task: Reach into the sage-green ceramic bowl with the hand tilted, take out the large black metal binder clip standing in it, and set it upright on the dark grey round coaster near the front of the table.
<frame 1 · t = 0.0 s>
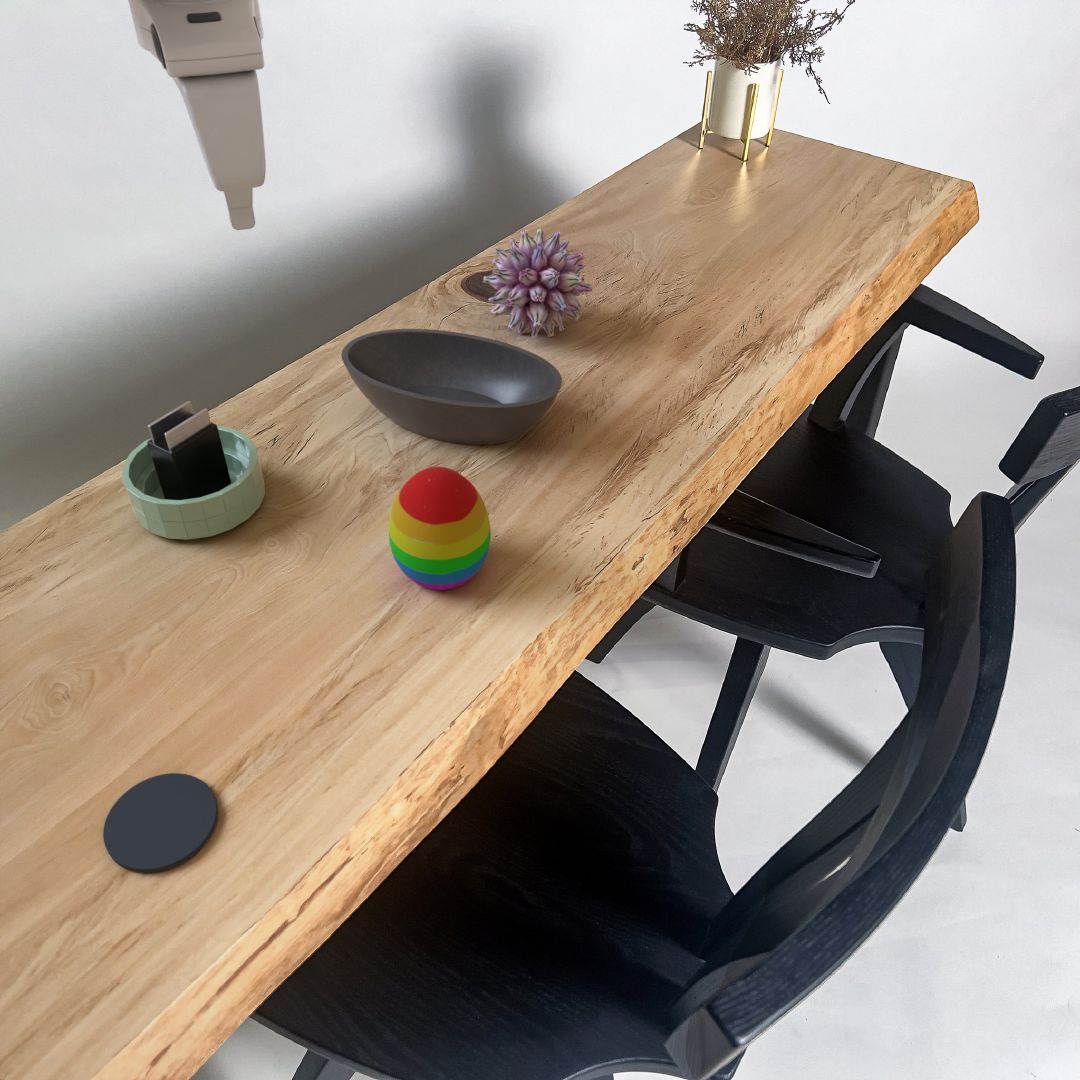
hand: (234, 202, 79), 23 cm above the table, tool pointing down, fingers open, 8 cm apart
green bowl: (201, 502, 86), on the table
coaster: (162, 823, 63), on the table
bowl: (453, 421, 97), on the table
decorative egg: (442, 569, 81), on the table
clip: (200, 497, 86), point 1 cm above the table, touching green bowl
flower: (536, 331, 110), on the table
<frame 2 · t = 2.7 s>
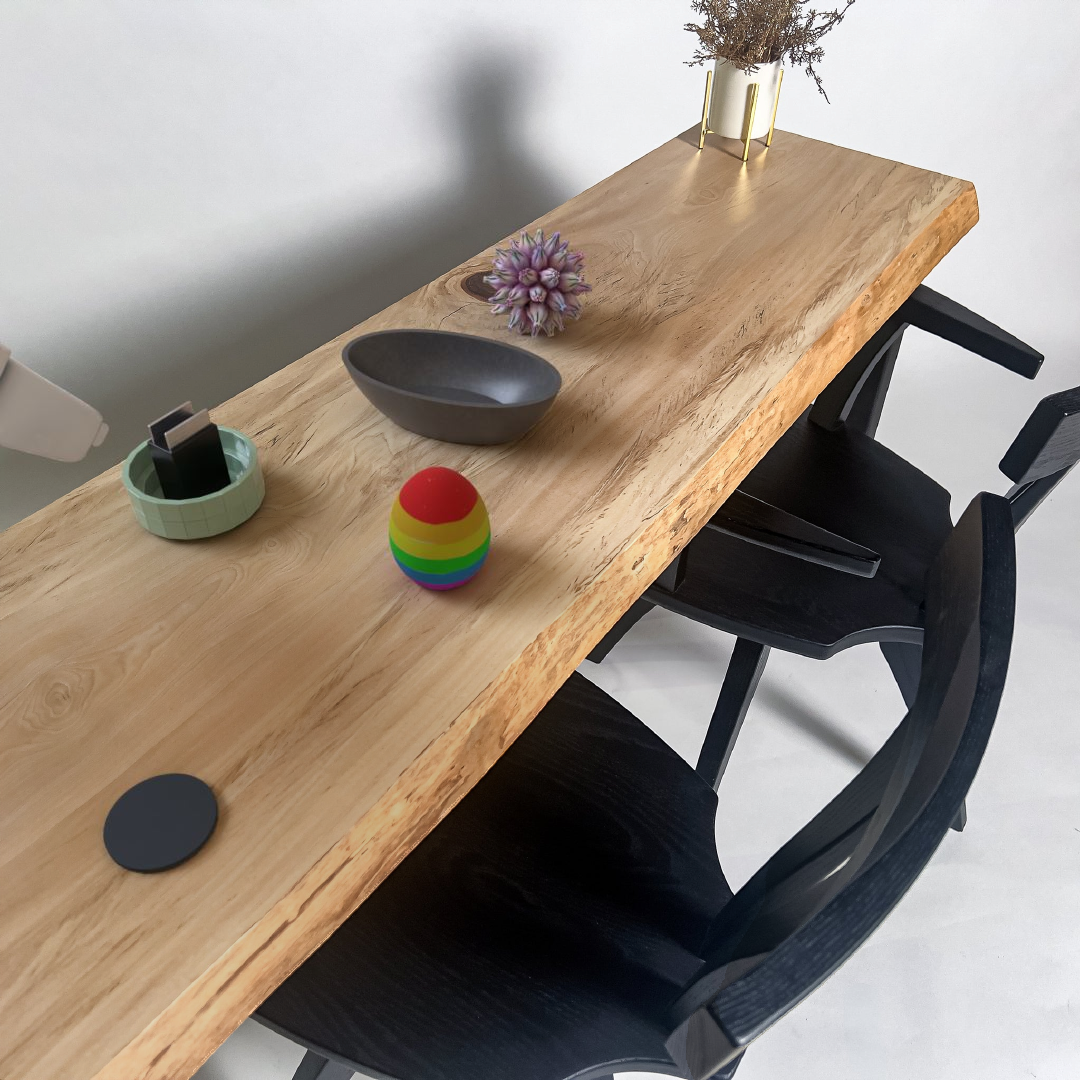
hand: (56, 408, 71), 14 cm above the table, tool tilted 40°, fingers open, 8 cm apart
nothing on the table moved.
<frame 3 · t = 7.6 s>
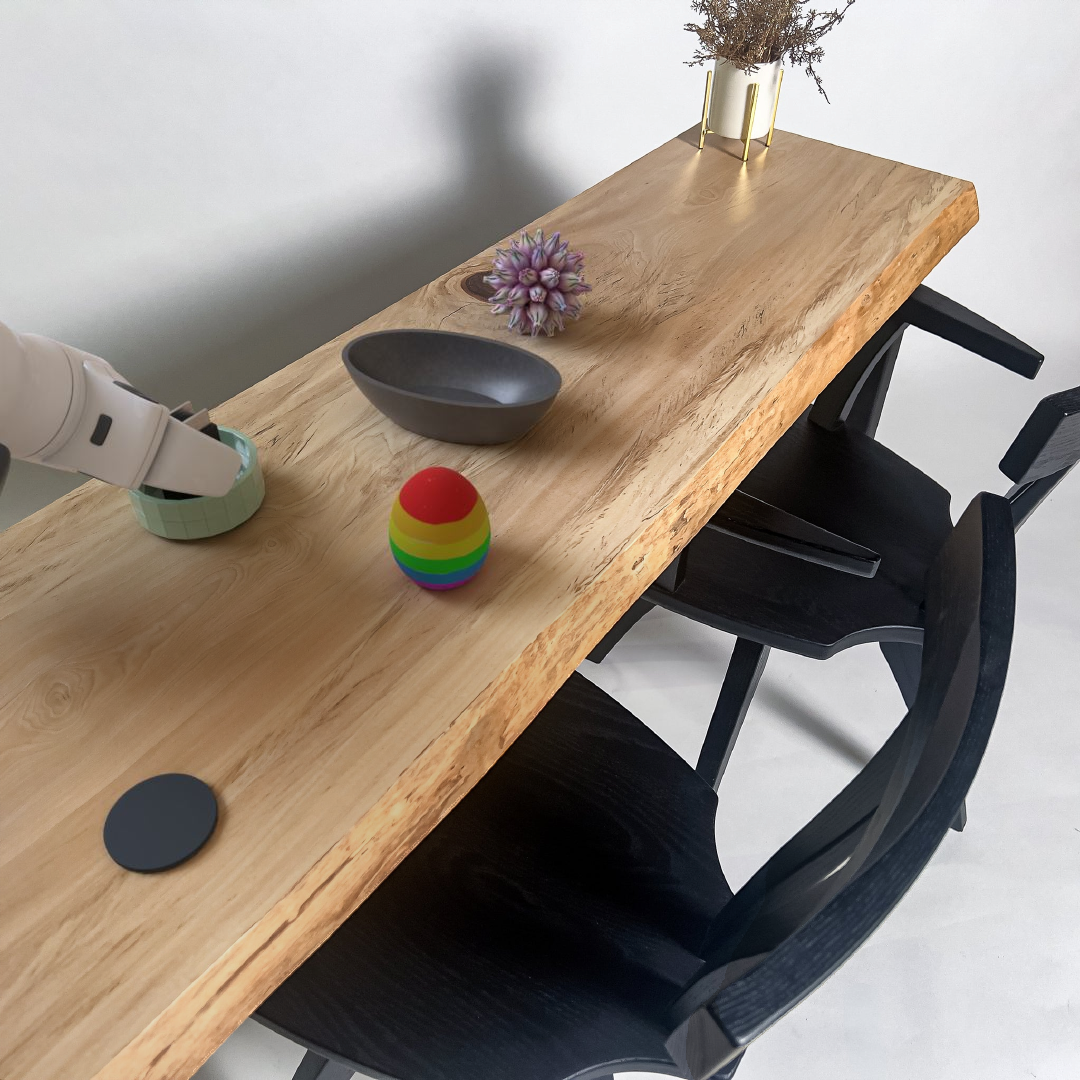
hand: (193, 448, 83), 6 cm above the table, tool tilted 45°, fingers closed on clip, 3 cm apart
clip: (200, 497, 86), point 1 cm above the table, touching green bowl, gripper
everything else where it was.
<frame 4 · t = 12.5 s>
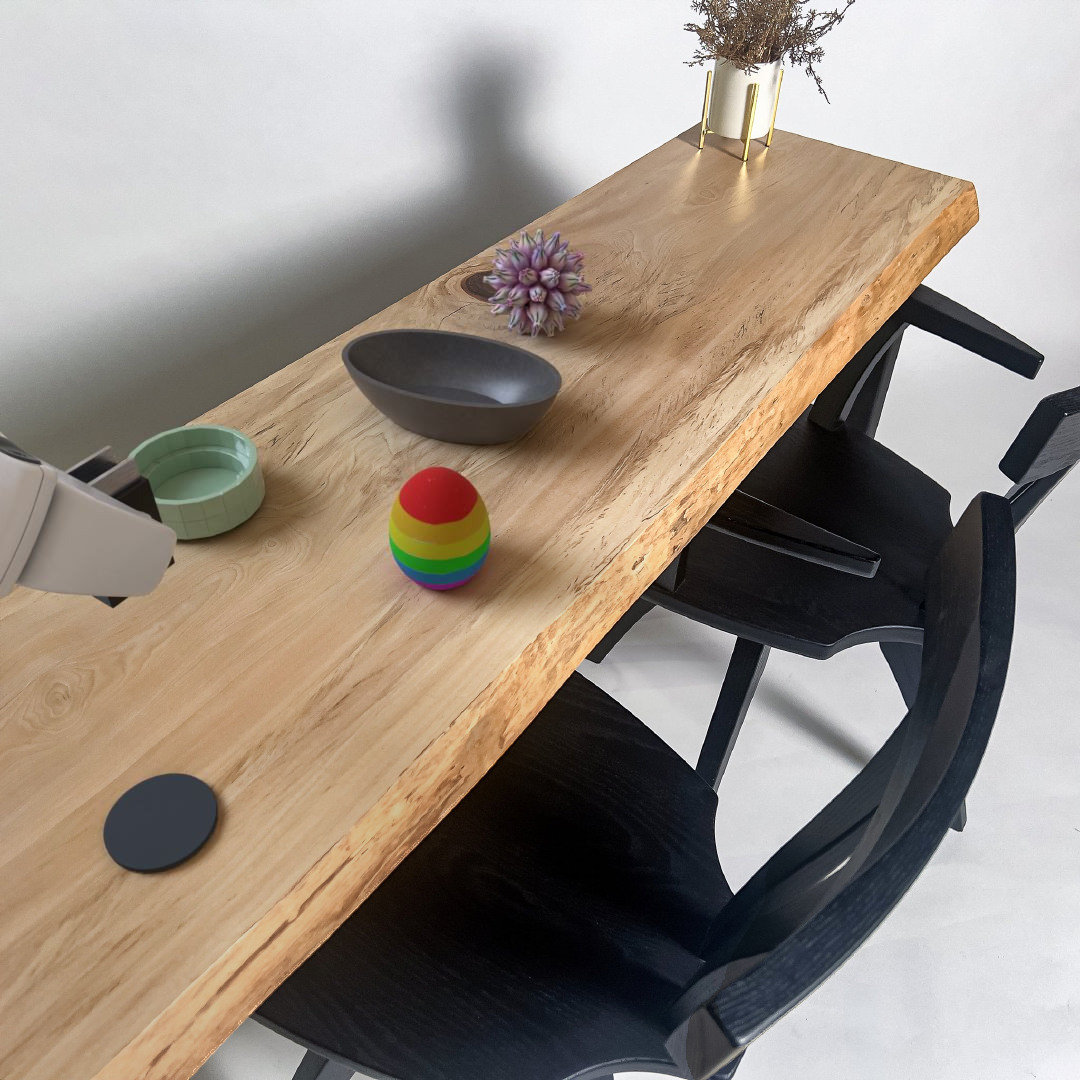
hand: (116, 512, 59), 17 cm above the table, tool tilted 45°, fingers closed on clip, 3 cm apart
clip: (129, 576, 62), point 12 cm above the table, touching gripper
everything else where it was.
when the fingers open (5 cm above the table, at t = 17.4 s): clip stays where it is, resting on coaster.
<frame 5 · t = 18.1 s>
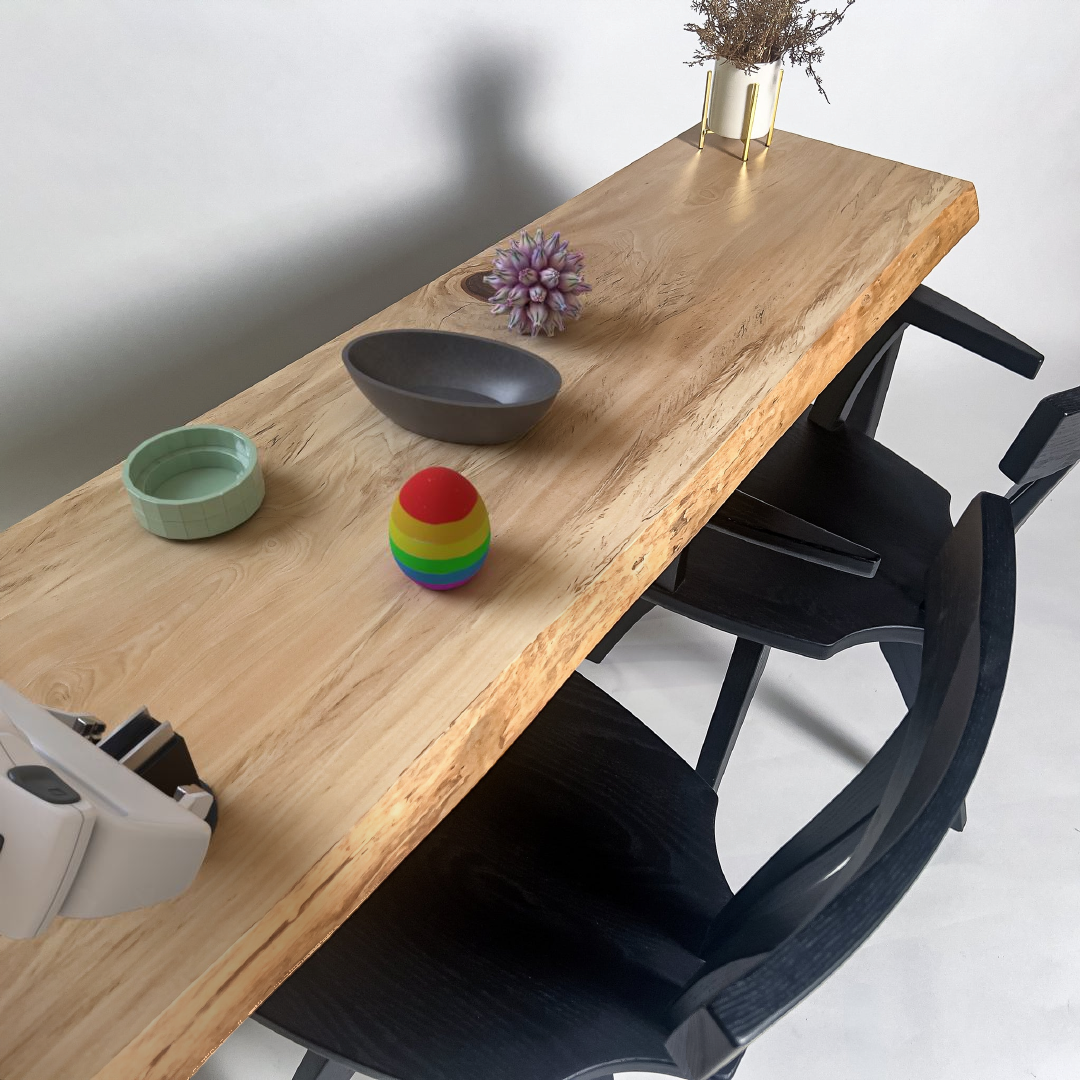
hand: (147, 765, 59), 6 cm above the table, tool tilted 45°, fingers open, 8 cm apart
clip: (162, 819, 62), point 1 cm above the table, touching coaster
everything else where it was.
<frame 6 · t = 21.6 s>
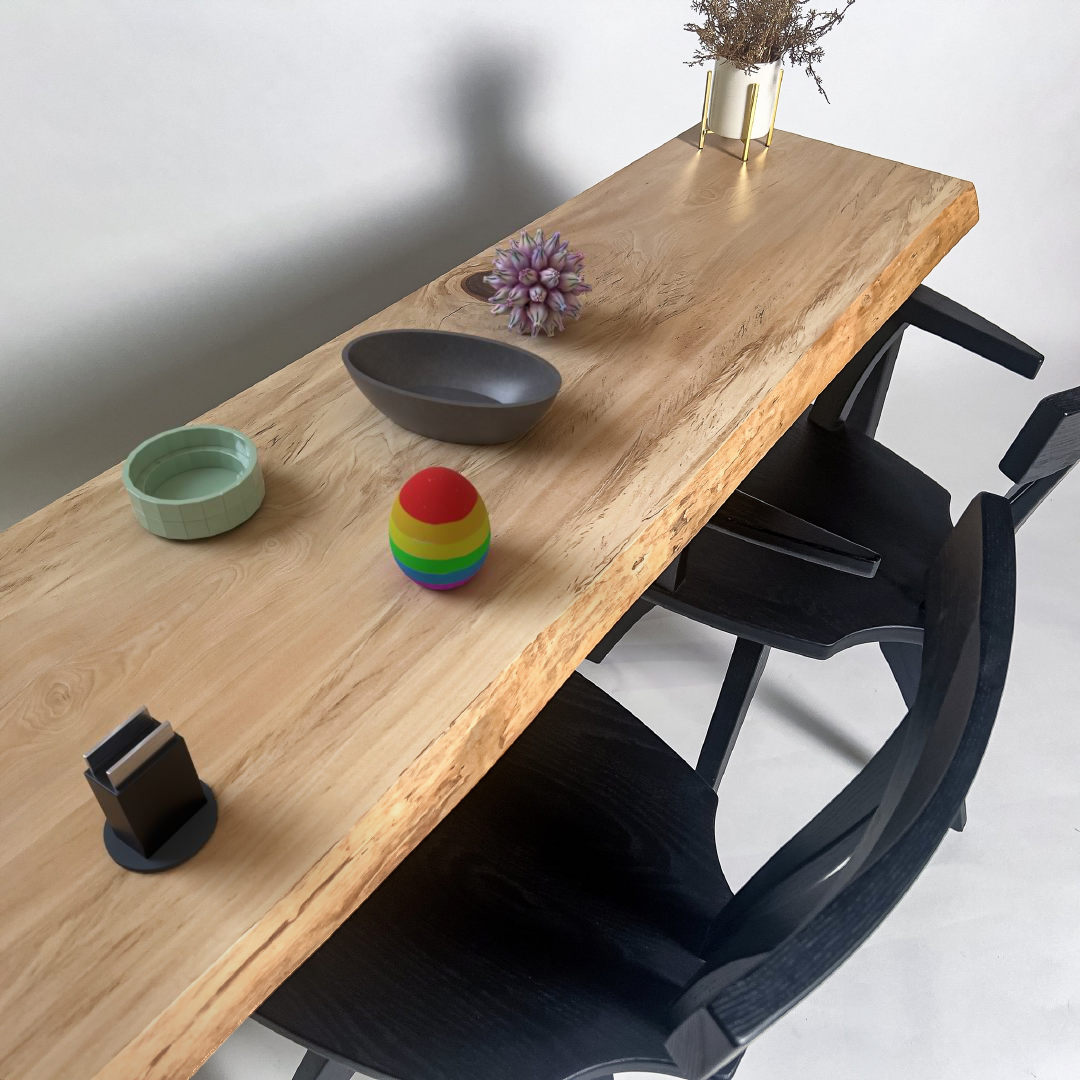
nothing on the table moved.
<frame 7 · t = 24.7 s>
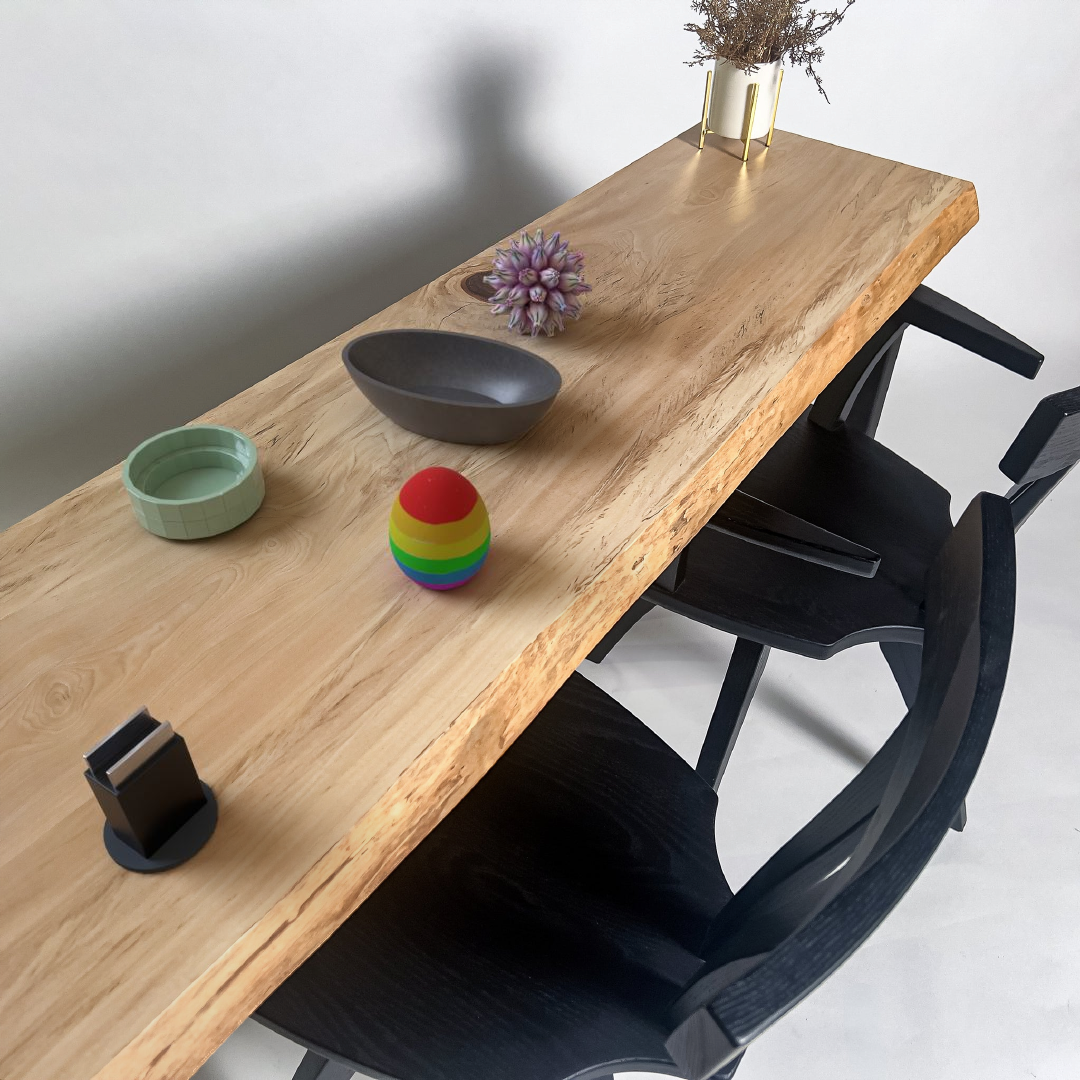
nothing on the table moved.
at the end: clip 0.1 cm off-centre on the coaster, point 0.5 cm above the coaster's base; clip tilted 0°; the gripper is holding nothing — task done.
